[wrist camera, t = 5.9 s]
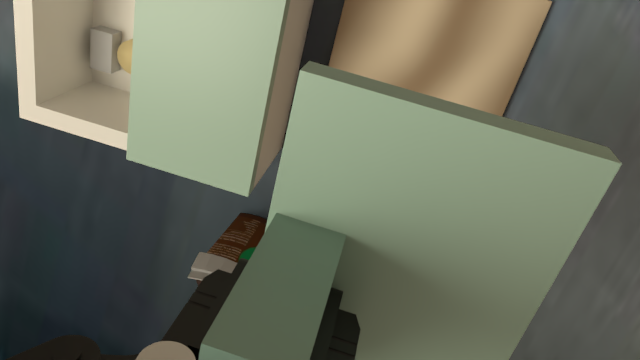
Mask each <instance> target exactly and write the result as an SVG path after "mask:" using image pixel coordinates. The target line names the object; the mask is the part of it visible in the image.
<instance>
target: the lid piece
mask: <svg viewBox="0 0 640 360" xmlns="http://www.w3.org/2000/svg"><path fill="white" fill-rule="evenodd" d="M621 165H622V163H621V162H620V161H619V160H618V158H617V157H616V156H615V155H614V154H613V152H612V151H611V150H610V149H609V147H605V146H602V145H598V144H595V143H591V142H588V141H585V140H581V139H578V138H574V137H571V136H567V135H564V134H560V133H557V132H553V131H550V130H547V129H543V128H540V127H536V126H533V125H529V124H526V123H522V122H519V121H515V120H512V119H509V118H505V117H502V116H498V115H495V114H491V113H488V112H484V111H481V110H477V109H474V108H471V107H467V106H464V105H460V104H457V103H453V102H450V101H446V100H443V99H439V98H436V97H433V96H429V95H426V94H422V93H419V92H415V91H412V90H408V89H405V88H402V87H398V86H395V85H391V84H388V83H384V82H381V81H377V80H374V79H370V78H367V77H364V76H360V75H357V74H353V73H350V72H346V71H343V70H339V69H336V68H332V67H329V66H326V65H322V64H319V63H315V62H312V61H309V62H308V63H307V64H306V65H305V66H303V67H302V68H301V69H300V72H299V77H298V81H297V86H296V90H295V95H294V100H293V104H292V109H291V113H290V118H289V123H288V127H287V132H286V136H285V141H284V146H283V150H282V155H281V159H280V164H279V169H278V173H277V178H276V182H275V187H274V192H273V196H272V201H271V205H270V210H269V215H268V219H267V224H266V228H265V233H264V235H263V237H262V238H261V240H260V242H259V244H258V245H257V247H256V249H255V251H254V252H253V254H252V256H251V258H250V259H249V261H248V263H247V264H246V266H245V268H244V270H243V271H242V273H241V275H240V277H239V278H238V280H237V282H236V284H235V285H234V287H233V289H232V291H231V292H230V294H229V296H228V297H227V299H226V301H225V303H224V304H223V306H222V308H221V310H220V311H219V313H218V315H217V317H216V318H215V320H214V322H213V323H212V325H211V327H210V329H209V330H208V332H207V334H206V336H205V337H204V339H203V341H202V343H201V347H200V353H199V359H198V360H310V356H311V353H312V350H313V346H314V343H315V340H316V336H317V333H318V330H319V326H320V323H321V319H322V316H323V313H324V309H325V306H326V303H327V299H328V296H329V293H330V289H331V287H332V288H335V289H338V290H341V291H343V295H342V299H341V303H340V307H339V309H341V310H344V311H347V312H350V313H353V314H356V316H357V320H358V323H359V326H360V329H361V330H360V335H359V340H358V345H357V351H356V356H355V360H509V358H510V356H511V354H512V353H513V351H514V349H515V348H516V346H517V344H518V342H519V341H520V339H521V337H522V335H523V334H524V332H525V330H526V329H527V327H528V325H529V323H530V322H531V320H532V318H533V316H534V315H535V313H536V311H537V310H538V308H539V306H540V304H541V303H542V301H543V299H544V297H545V296H546V294H547V292H548V291H549V289H550V287H551V285H552V284H553V282H554V280H555V279H556V277H557V275H558V273H559V272H560V270H561V268H562V266H563V265H564V263H565V261H566V260H567V258H568V256H569V254H570V253H571V251H572V249H573V247H574V246H575V244H576V242H577V241H578V239H579V237H580V235H581V234H582V232H583V230H584V229H585V227H586V225H587V223H588V222H589V220H590V218H591V216H592V215H593V213H594V211H595V210H596V208H597V206H598V204H599V203H600V201H601V199H602V197H603V196H604V194H605V192H606V191H607V189H608V187H609V185H610V184H611V182H612V180H613V178H614V177H615V175H616V173H617V172H618V170H619V168H620V166H621Z"/></svg>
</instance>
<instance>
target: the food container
mask: <svg viewBox="0 0 640 360" xmlns="http://www.w3.org/2000/svg"><path fill="white" fill-rule="evenodd" d="M266 224H267V220H266V219H264V218H262V217H259V216H255V215H252V214H246V213H240V214H239V215H238V217H237V218H236V219H235V220H234V221H233V223H232V224H231V225H230V226H229V227H228V228H227V230H226V231H225V232H224V233H223V234H222V236H221V237H220V238H219V239H218V240H217V241H216V243H215V244H214V245H213V246H212V247H211V249H210V250H209V251H208V252H207V253H203V252H199V254H198V256H197V258H196V259H195V261H194V263H193V265H192V267H191V269H192V271H191V272H190V274H189V276H188V278H191V279H196V281H197V284H198V286H199V284H200V283H201V281H202V280H203V278H204V277H206V276H208V275H209V274H211V273H213V272H214V271H216V270H217V269H219V270H222V271H225V272H229V273H232V271H233V270H234V268H235V266H236V265H237V263H238V261H239V260H240V259H241V258H243V259H247V260H249V259H250V258H251V256H252V254H253V252H254V251H255V249H256V247H257V245H258V244H259V242H260V240H261V238H262V237H263V235H264V233H265V228H266Z"/></svg>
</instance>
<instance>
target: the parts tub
mask: <svg viewBox="0 0 640 360" xmlns="http://www.w3.org/2000/svg"><path fill="white" fill-rule="evenodd" d="M313 3H314V0H13V5H14V23H15V41H16V59H17V77H18V95H19V112H20V118H23V119H27V120H30V121H33V122H36V123H40V124H43V125H46V126H49V127H52V128H56V129H59V130H62V131H65V132H69V133H72V134H75V135H78V136H82V137H85V138H88V139H91V140H94V141H98V142H101V143H104V144H107V145H111V146H114V147H117V148H120V149H124V150H127V156H126V159H127V160H131V161H134V162H137V163H140V164H144V165H147V166H150V167H153V168H156V169H160V170H163V171H166V172H169V173H173V174H176V175H179V176H182V177H185V178H189V179H192V180H195V181H198V182H202V183H205V184H208V185H211V186H214V187H218V188H221V189H224V190H227V191H230V192H234V193H237V194H240V195H243V196H247V197H248V196H249V195H250V193H251V192H252V190H253V189H254V187H255V186H256V185H257V183H258V182H259V180H260V179H261V177H262V176H263V174H264V173H265V171H266V170H267V168H268V167H269V165H270V164H271V163H272V161H273V160H274V158H275V157H276V155H277V154H278V152H279V151H280V149H281V148H282V144H283V140H284V135H285V130H286V126H287V121H288V117H289V112H290V108H291V103H292V98H293V94H294V89H295V85H296V80H297V76H298V71H299V67H300V62H301V57H302V53H303V48H304V44H305V39H306V35H307V30H308V26H309V21H310V16H311V12H312V7H313Z"/></svg>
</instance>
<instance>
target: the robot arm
mask: <svg viewBox="0 0 640 360" xmlns="http://www.w3.org/2000/svg"><path fill="white" fill-rule="evenodd" d="M248 261H249V260H247V259H243V258H241V259H240V260H239V261H238V263H237V265H236V266H235V268H234V270H233V271H232V273H229V272H225V271H222V270H219V269H217V270H216V271H214V272H213V273H211V274H209V275H208V276H206V277H204V278H203V280H202V281H201V283H200V284H199V286H198V287H197V289H196V291H195V293H193V295H192V296H191V298H190V299H189V301H188V303H186V305H185V306H184V308H183V309H182V311H181V312H180V314H179V315H178V317H177V318H176V320H175V321H174V323H173V324H172V326H171V327H170V328H169V330H168V331H167V333H166V334H165V336H164V337H163V339H162V340H161V341H160V342H156V343H153V344H151V345H149V346H147V347H146V348H144V349H143V350H142V351H141V352H140V354H136V355H127V356H122V355H102V354H100V349H99V347H98V345H97V344H96V343H95V342H94V341H93V340H91V339H90V338H87V337H85V336H81V335H66V336H61V337H58V338H55V339H52V340H50V341H48V342H45V343H43V344H41V345H38V346H36V347H34V348H31V349H29V350H27V351H24V352H22V353H20V354H17V355H15V356H13V357H10V358H8V359H6V360H198V359H199V353H200V347H201V343H202V341H203V339H204V337H205V336H206V334H207V332H208V330H209V329H210V327H211V325H212V323H213V322H214V320H215V318H216V317H217V315H218V313H219V311H220V310H221V308H222V306H223V304H224V303H225V301H226V299H227V297H228V296H229V294H230V292H231V291H232V289H233V287H234V285H235V284H236V282H237V280H238V278H239V277H240V275H241V273H242V271H243V270H244V268H245V266H246V264H247V263H248ZM342 295H343V291H341V290H338V289H335V288H332V287H331V289H330V293H329V296H328V299H327V303H326V306H325V309H324V313H323V316H322V319H321V323H320V326H319V330H318V333H317V336H316V340H315V343H314V346H313V350H312V353H311V356H310V360H355V356H356V351H357V345H358V340H359V335H360V330H361V329H360V326H359V323H358V320H357V316H356V314H353V313H350V312H347V311H344V310H341V309H339V307H340V303H341V299H342Z"/></svg>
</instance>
